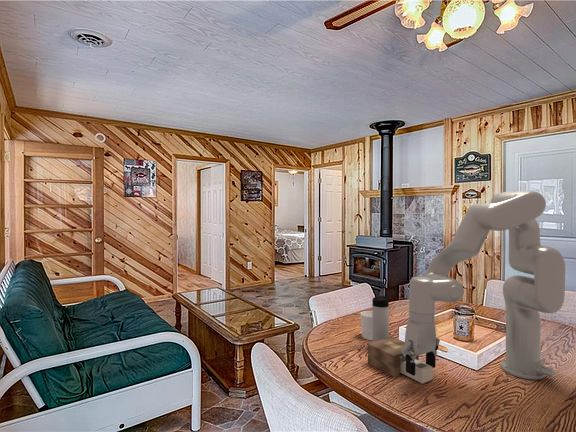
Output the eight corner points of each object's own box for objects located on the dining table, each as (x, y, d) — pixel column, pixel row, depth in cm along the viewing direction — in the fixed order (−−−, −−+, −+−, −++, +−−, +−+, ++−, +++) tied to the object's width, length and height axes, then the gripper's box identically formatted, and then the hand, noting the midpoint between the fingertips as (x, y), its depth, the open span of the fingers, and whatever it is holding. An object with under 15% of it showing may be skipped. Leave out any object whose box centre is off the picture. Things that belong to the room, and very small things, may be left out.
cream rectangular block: (432, 379, 110) (432, 366, 110) (422, 383, 107) (422, 370, 107) (397, 362, 122) (397, 350, 121) (387, 366, 119) (387, 354, 119)
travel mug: (390, 351, 132) (390, 299, 131) (372, 350, 133) (372, 298, 133) (389, 344, 138) (389, 295, 137) (372, 343, 139) (371, 294, 139)
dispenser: (420, 368, 118) (420, 347, 117) (396, 378, 111) (395, 356, 111) (391, 355, 129) (391, 336, 128) (367, 363, 122) (367, 343, 122)
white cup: (359, 339, 144) (358, 315, 144) (362, 332, 151) (362, 310, 151) (378, 341, 141) (378, 317, 141) (380, 335, 148) (380, 312, 148)
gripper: (428, 309, 117) (427, 359, 118) (393, 317, 108) (392, 371, 109) (449, 315, 111) (448, 368, 111) (413, 324, 102) (412, 382, 102)
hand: (420, 369), depth 110 cm, fingers open, 9 cm apart
